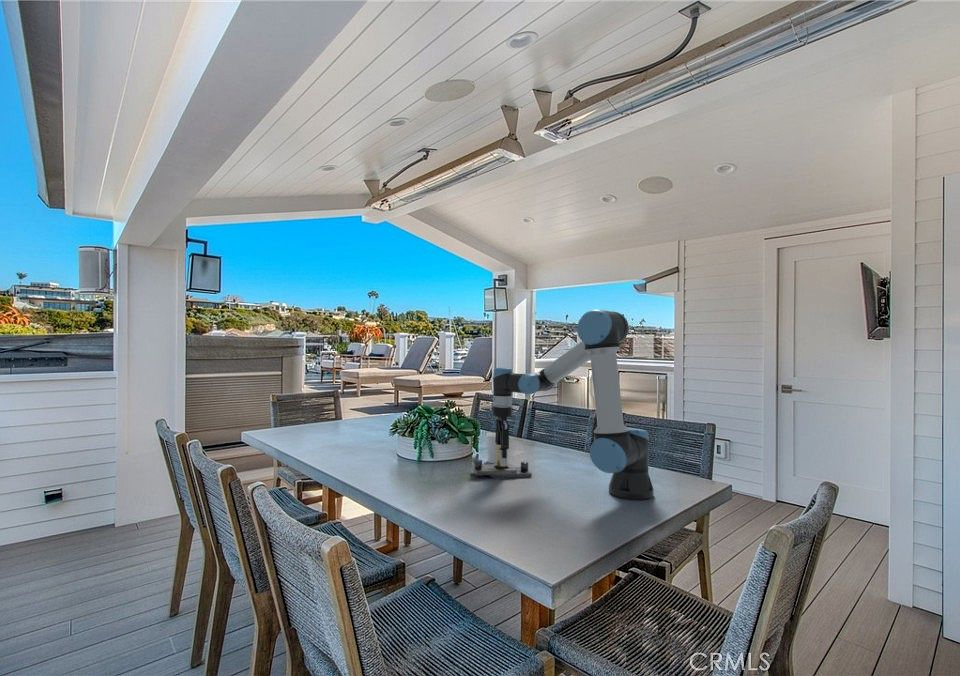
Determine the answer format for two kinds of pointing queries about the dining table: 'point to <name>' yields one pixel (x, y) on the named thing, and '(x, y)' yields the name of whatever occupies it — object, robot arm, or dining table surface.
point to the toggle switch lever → (499, 458)
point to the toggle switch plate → (501, 470)
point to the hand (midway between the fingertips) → (501, 463)
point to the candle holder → (491, 448)
